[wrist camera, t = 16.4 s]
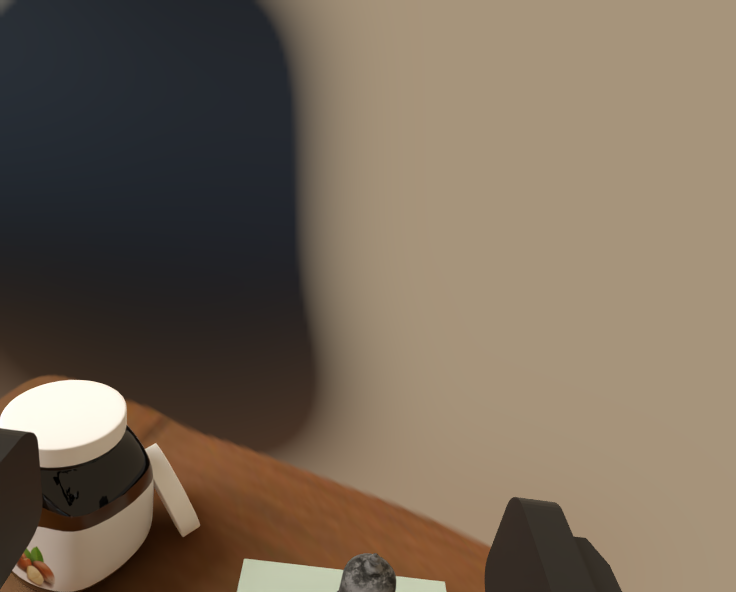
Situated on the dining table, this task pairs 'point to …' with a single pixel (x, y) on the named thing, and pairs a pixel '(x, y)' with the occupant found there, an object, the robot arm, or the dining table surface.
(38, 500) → the robot arm
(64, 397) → the spread jar
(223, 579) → the dining table surface
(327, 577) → the light green square frame
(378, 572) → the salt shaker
